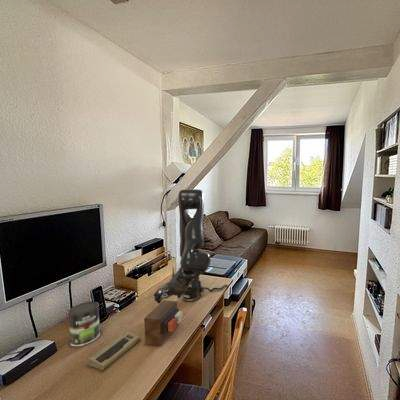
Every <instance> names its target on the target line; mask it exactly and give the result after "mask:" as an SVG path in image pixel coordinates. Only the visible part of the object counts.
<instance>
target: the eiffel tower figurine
mask: <svg viewBox="0 0 400 400" xmlns="http://www.w3.org/2000/svg"><path fill="white" fill-rule="evenodd" d="M174 268H175V267H174V266H172V275H171V279H172V278H173V276H174V275H175V269H174ZM168 284H169V282H166V283H165V284H163V285H161V286H159V287H158V289H161V290H165V289H166V288H167V287H168Z"/></svg>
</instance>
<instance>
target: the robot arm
mask: <svg viewBox="0 0 400 400" xmlns="http://www.w3.org/2000/svg"><path fill="white" fill-rule="evenodd" d="M177 204H178V211H179V212H178V213H179V257H180V263H179V264H180V267H179V268H178V270H177V271H176V272H175V273H174V276H173V278H172V277H171V279H170V281H168V283H169V284H168V287H167V288H166V289H162V288H158V289H157V290H156V292H155V293H154V294H153V296H154V301H155V302H156V303H157V304H160V303H161V302H162V301H163V300H166V299H168V298H170V297H173V296H176V297H177V299H178V300H179V299H181V298H182V300H183V301H185V302H194V301H198V299H200V297H202V293H204V292H205V290H208V291H209V292H212V291H214V290H218V291H221V290H223V289H224V288H225V287H228V286H229V285H227V284H224V285H223V286H221V287H212V288H211V289H210V288H209V287H205V286H202V282H201V280H200V276H201V275H202V274H204V273H205V272H206V271H208V269H209V267H210V266H211V261H212V259H211V255H210V254H209V253H208V252H205V251H200V249H202V248H203V247H204V245H205V240H204V239H205V238H204V211H205V197H204V192H203V190H202V189H198V188H197V189H196V188H195V189H194V188H185V189H180V190H179V191H178V195H177ZM189 210H195V212H194V215H192V214H191V212H190V211H189Z"/></svg>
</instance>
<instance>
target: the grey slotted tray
mask: <svg viewBox="0 0 400 400" xmlns="http://www.w3.org/2000/svg"><path fill="white" fill-rule="evenodd" d="M139 341H140V337H139V336H138V335H137V334H134V333H132V332H130V331H124V332H123V333H122V334H120V335H119V336H118V337H116V338H115V339H113V340H112V341H111V342H109V343H108V344H107V345H105V346H104V347H102V348H101V349H100V350H98V351H97V352H96V353H94V354H93V355H91V356H90V357H88V359H87V365H88V366H89V367H91V368H95V369H98V370H101V371H104V370H105V369H107V368H108V367H110V365H112V364H113V363H114V362H115V361H117V360H118V359H119V358H120V357H121V356H122V355H124V354H125V353H127V352H128V351H129V350H130V349H131V348H133V347H134V346H135V345H136V344H137V343H138V342H139Z"/></svg>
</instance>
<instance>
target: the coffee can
mask: <svg viewBox="0 0 400 400" xmlns="http://www.w3.org/2000/svg"><path fill="white" fill-rule="evenodd" d="M67 315H68V326H69V341H70V342H69V344H70V346H71V347H82V346H86V345H88V344H90V343H92V342H94V341H96V340H97V339H98V338H99V337H100V335H101V329H100V328H101V327H100V325H101V324H100V315H99V303H98V302H91V301H86V302H82V303H79V304H76V305H75V306H72V307H71V308H70V309H69V310H68V311H67Z"/></svg>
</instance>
